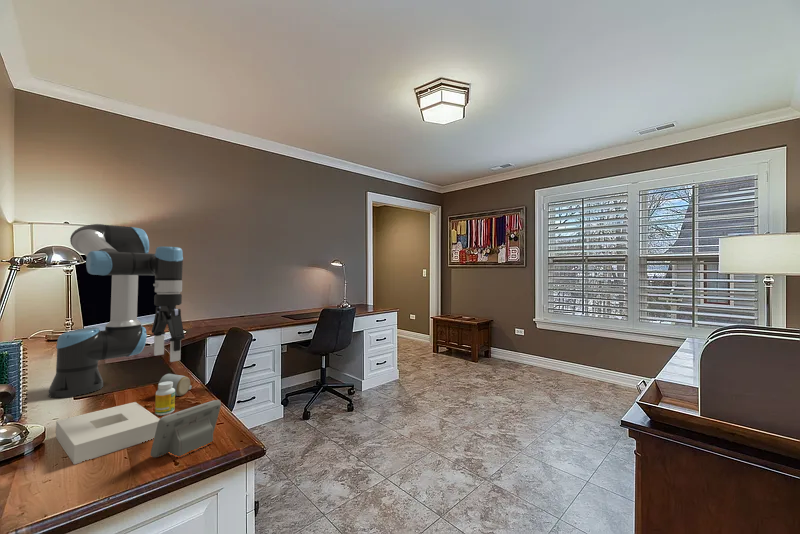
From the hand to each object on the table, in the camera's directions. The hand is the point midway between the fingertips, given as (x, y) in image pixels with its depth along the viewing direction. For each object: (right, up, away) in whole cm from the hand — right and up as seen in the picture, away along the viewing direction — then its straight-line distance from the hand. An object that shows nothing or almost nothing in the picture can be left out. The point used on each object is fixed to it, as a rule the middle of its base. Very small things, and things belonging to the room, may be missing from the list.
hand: (166, 357), depth 112 cm
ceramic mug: (-8, -18, +17) cm, 26 cm away
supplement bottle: (0, -18, 0) cm, 18 cm away
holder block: (-4, -17, -17) cm, 25 cm away
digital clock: (+21, -18, -22) cm, 35 cm away
